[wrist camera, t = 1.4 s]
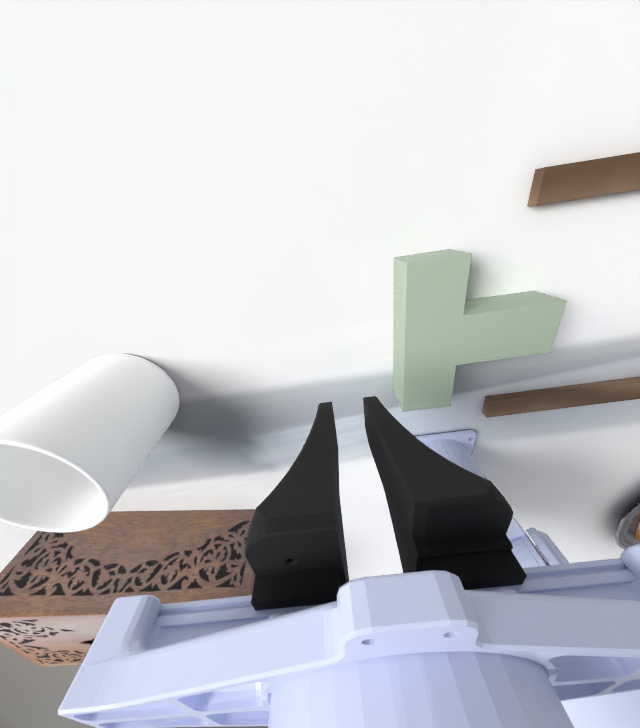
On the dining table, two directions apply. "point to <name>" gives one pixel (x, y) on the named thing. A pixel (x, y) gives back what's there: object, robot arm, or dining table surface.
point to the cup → (82, 442)
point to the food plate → (629, 529)
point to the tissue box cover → (117, 575)
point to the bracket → (559, 187)
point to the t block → (457, 326)
